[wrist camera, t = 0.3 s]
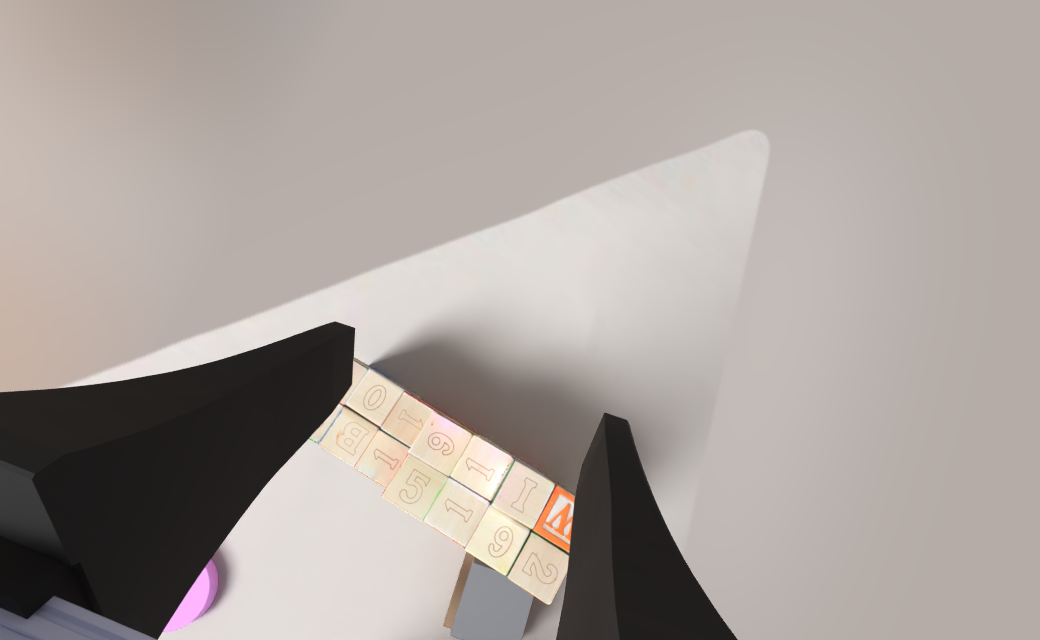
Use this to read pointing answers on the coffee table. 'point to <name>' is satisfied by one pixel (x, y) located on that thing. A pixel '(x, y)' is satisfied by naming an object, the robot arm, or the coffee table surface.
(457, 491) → the stack of blocks
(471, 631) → the tower top
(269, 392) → the robot arm
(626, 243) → the coffee table surface
